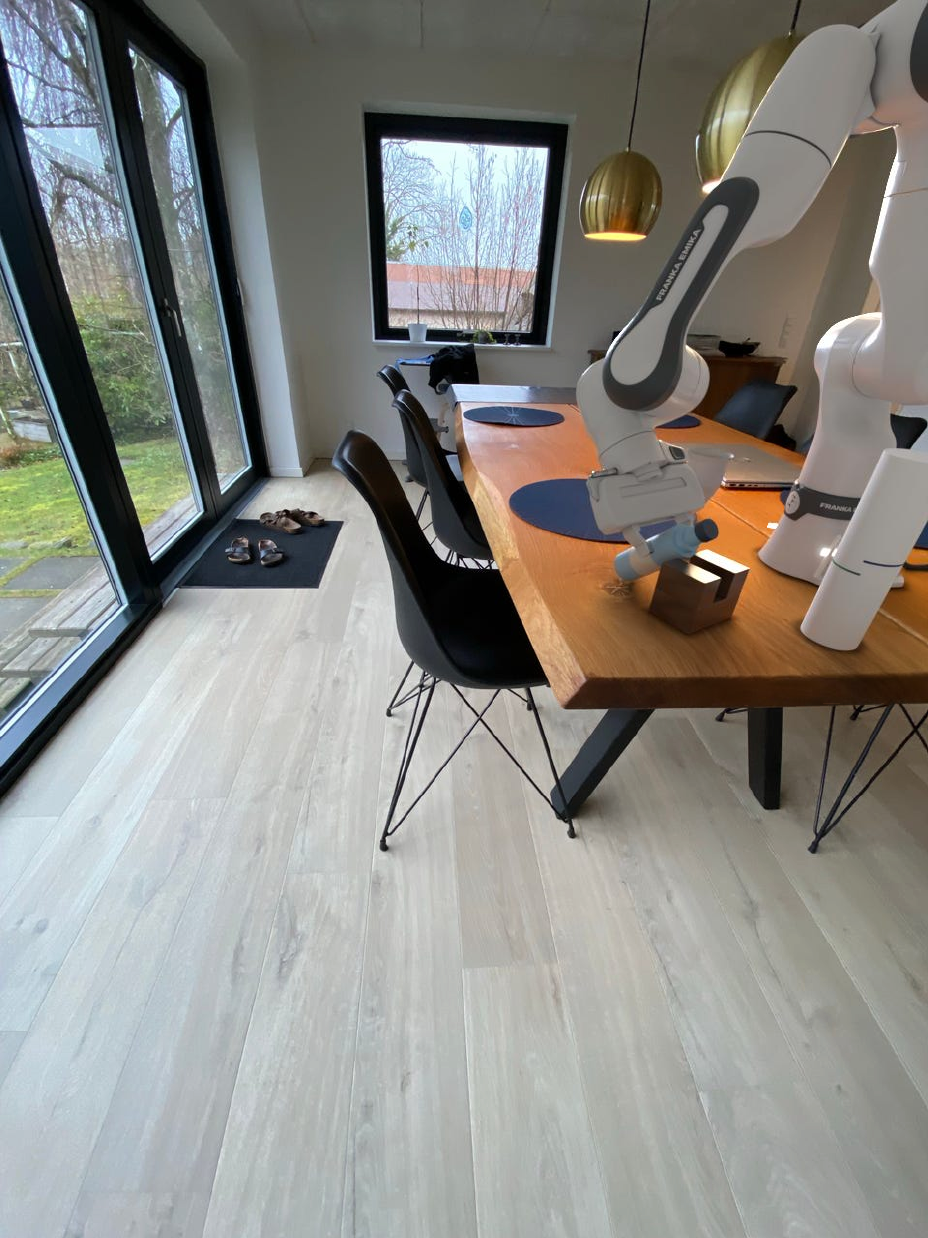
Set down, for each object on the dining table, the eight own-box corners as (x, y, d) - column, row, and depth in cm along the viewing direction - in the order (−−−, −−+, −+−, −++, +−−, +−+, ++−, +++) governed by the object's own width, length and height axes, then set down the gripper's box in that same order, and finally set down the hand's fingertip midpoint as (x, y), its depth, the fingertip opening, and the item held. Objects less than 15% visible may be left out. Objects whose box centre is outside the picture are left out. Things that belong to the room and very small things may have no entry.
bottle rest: (648, 611, 77) (662, 562, 72) (691, 596, 81) (706, 549, 77) (687, 634, 72) (705, 583, 67) (731, 617, 76) (750, 568, 72)
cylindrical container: (859, 656, 69) (965, 468, 56) (799, 638, 72) (885, 456, 59) (857, 632, 74) (954, 455, 61) (801, 616, 78) (882, 445, 64)
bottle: (604, 575, 86) (625, 490, 78) (626, 569, 88) (649, 486, 80) (675, 619, 76) (708, 527, 68) (697, 611, 78) (731, 521, 70)
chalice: (700, 548, 97) (732, 450, 88) (702, 563, 92) (735, 460, 82) (660, 541, 99) (686, 445, 90) (659, 555, 94) (687, 454, 84)
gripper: (597, 461, 71) (635, 554, 69) (693, 448, 80) (728, 529, 79) (569, 483, 76) (604, 571, 74) (662, 469, 86) (695, 546, 84)
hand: (669, 549), depth 77 cm, fingers open, 8 cm apart
